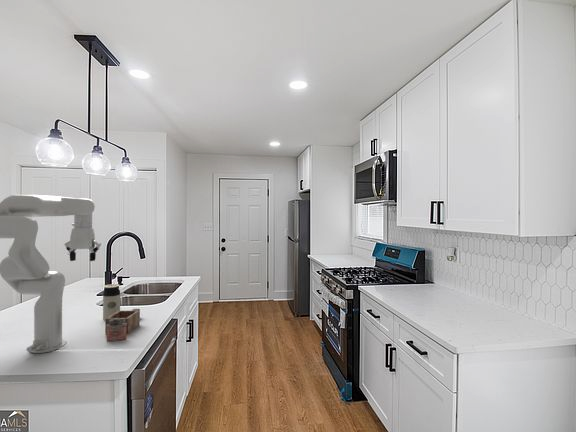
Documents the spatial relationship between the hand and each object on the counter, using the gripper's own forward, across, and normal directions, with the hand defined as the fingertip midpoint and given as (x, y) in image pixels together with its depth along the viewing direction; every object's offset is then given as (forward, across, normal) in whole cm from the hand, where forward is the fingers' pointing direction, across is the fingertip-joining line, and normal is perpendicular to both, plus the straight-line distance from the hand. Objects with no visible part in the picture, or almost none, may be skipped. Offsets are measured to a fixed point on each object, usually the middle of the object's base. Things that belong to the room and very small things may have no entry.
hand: (82, 260), depth 165 cm
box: (+33, +22, -4) cm, 40 cm away
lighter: (+33, +26, -16) cm, 45 cm away
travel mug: (+33, +7, +14) cm, 36 cm away
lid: (+33, +20, +12) cm, 41 cm away
